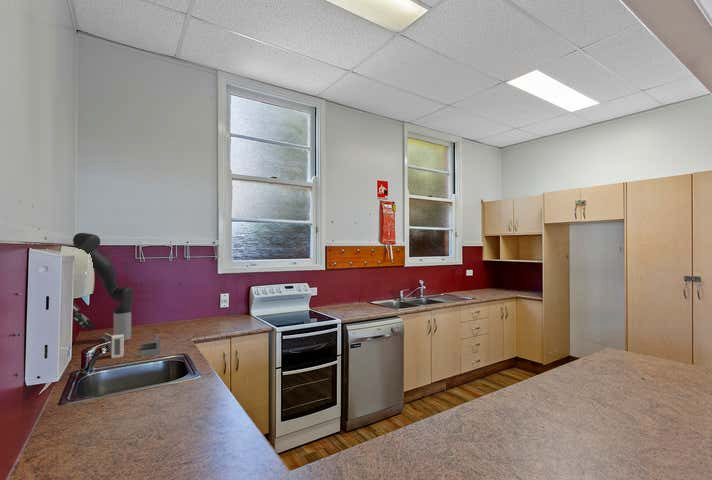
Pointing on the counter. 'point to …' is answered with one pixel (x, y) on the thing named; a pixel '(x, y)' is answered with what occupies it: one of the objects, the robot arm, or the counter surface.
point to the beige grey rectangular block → (117, 346)
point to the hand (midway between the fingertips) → (92, 328)
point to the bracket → (151, 345)
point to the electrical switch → (106, 339)
